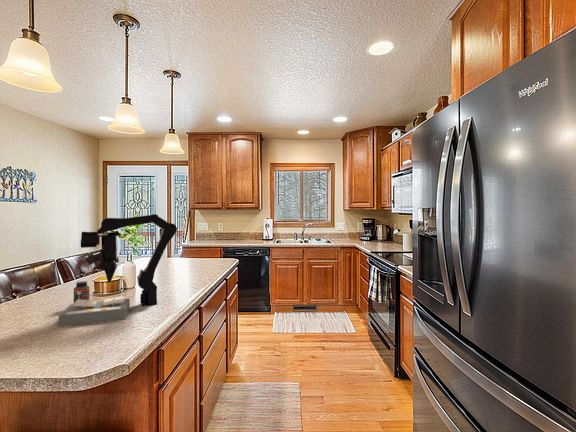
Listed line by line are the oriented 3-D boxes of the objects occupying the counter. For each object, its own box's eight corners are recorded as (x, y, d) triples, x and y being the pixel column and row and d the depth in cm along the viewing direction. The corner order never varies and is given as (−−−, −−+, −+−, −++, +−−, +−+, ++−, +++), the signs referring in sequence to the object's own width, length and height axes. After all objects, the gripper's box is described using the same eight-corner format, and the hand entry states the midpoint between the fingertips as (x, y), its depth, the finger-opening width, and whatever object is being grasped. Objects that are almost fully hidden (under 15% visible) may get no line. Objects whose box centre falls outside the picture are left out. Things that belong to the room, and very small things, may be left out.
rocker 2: (124, 298, 131) (124, 295, 131) (123, 301, 126) (122, 298, 126) (105, 301, 128) (105, 299, 128) (103, 305, 124) (103, 302, 124)
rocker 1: (96, 303, 127) (97, 300, 127) (94, 306, 123) (94, 303, 123) (77, 302, 125) (77, 299, 125) (73, 305, 120) (74, 302, 120)
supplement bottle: (81, 309, 134) (81, 283, 134) (70, 308, 135) (69, 283, 135) (92, 305, 140) (92, 280, 140) (81, 304, 141) (81, 280, 141)
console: (129, 307, 137) (129, 296, 137) (125, 318, 122) (125, 306, 122) (70, 313, 128) (70, 301, 128) (58, 326, 114) (58, 313, 114)
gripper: (90, 245, 139) (91, 279, 139) (83, 249, 122) (83, 288, 122) (118, 244, 144) (118, 277, 144) (115, 248, 127) (115, 285, 127)
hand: (109, 281), depth 134 cm, fingers closed
